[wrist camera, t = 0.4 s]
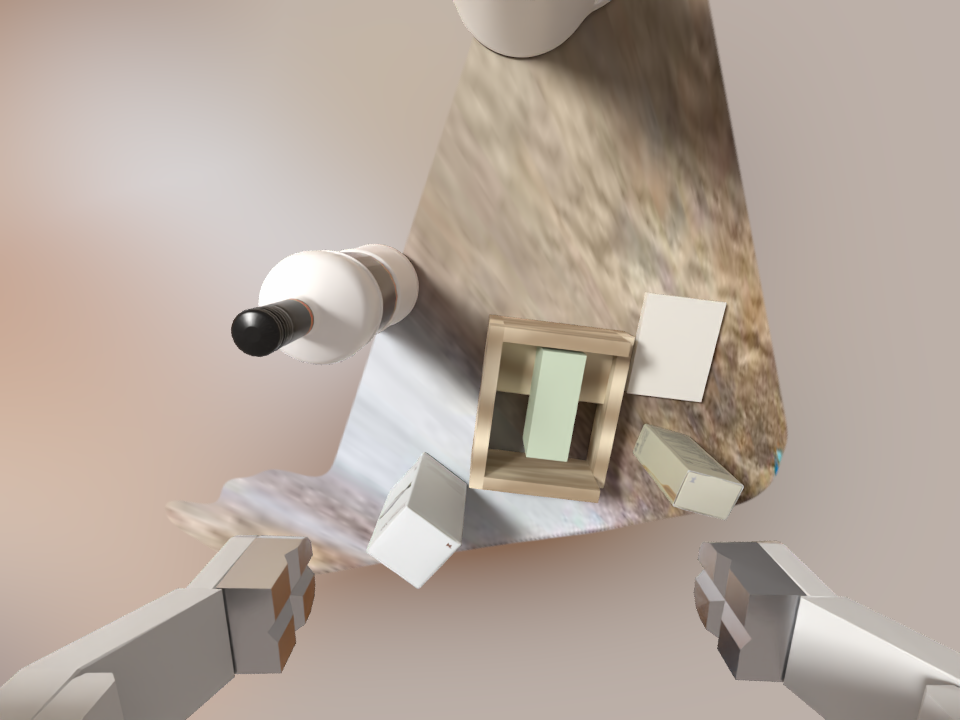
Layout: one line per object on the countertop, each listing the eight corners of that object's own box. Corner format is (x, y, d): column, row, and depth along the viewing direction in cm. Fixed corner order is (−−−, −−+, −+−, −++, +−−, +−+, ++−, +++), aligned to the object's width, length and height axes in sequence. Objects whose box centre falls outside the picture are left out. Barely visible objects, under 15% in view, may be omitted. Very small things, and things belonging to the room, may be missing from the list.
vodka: (436, 283, 53) (376, 331, 24) (384, 340, 55) (269, 450, 26) (375, 226, 52) (232, 203, 22) (323, 286, 53) (128, 338, 24)
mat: (645, 292, 53) (648, 293, 52) (722, 301, 53) (726, 302, 52) (624, 390, 56) (627, 393, 55) (697, 399, 56) (701, 402, 55)
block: (537, 340, 52) (543, 350, 47) (577, 345, 52) (586, 355, 47) (522, 438, 55) (526, 457, 50) (559, 442, 55) (567, 461, 50)
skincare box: (631, 452, 58) (668, 506, 46) (643, 421, 57) (685, 468, 45) (678, 466, 58) (727, 523, 46) (692, 436, 57) (746, 486, 45)
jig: (489, 314, 54) (490, 325, 46) (624, 331, 54) (645, 344, 47) (471, 457, 58) (468, 487, 51) (595, 472, 59) (611, 504, 51)
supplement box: (424, 449, 58) (407, 503, 46) (468, 484, 59) (464, 546, 47) (388, 488, 60) (362, 552, 47) (432, 522, 61) (419, 592, 48)
